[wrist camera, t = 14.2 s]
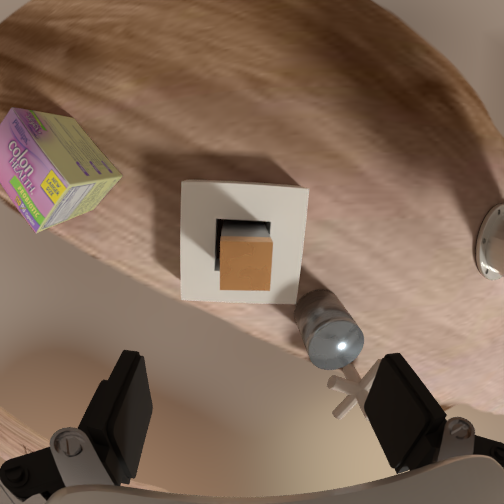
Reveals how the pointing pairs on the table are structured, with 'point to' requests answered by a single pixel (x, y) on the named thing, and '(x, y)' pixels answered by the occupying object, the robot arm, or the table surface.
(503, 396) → the table surface
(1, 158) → the box
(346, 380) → the pipe connector
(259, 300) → the holder block
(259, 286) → the square bit
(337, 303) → the cylinder
